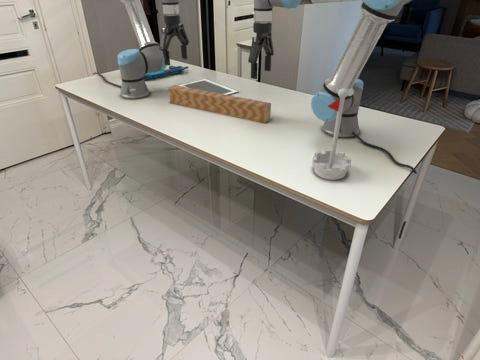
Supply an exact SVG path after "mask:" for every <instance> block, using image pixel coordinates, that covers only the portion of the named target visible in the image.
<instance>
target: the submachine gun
mask: <svg viewBox="0 0 480 360" xmlns="http://www.w3.org/2000/svg"><path fill="white" fill-rule="evenodd" d="M188 69H189V66H182V65H176V66H175V65H171V64H170V65H168V68H166V69H164V70H161V71H159V72H158V71H157V72H152V73H146V74H143V78H144V81H145V80H149V79H150V80H151V79H152V80H155V78H160V77H164V76H165V77H166V76H170V75H174V74H179V73H183V72H184V71H185V70H188Z"/></svg>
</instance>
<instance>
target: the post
mask: <svg viewBox="0 0 480 360" xmlns="http://www.w3.org/2000/svg"><path fill="white" fill-rule="evenodd" d="M168 96H169V103H170V104H173V105H179V106H184V107H189V108H193V109H197V110H202V111H207V112H212V113H217V114H221V115H225V116H231V117H235V118H240V119H243V120H244V119H245V120H249V121H254V122H257V123H263V124H266V123H268V122H269V121H270V120H271V116H272V115H271V114H272V102H268V101H262V100H257V99H252V98H246V97H241V96H236V95H231V94H229V95H225V94H219V93H214V92H209V91H203V90H198V89H193V88H187V87H182V86H178V85H176V84H174V85H172V86H169V87H168Z"/></svg>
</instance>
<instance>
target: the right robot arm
mask: <svg viewBox="0 0 480 360" xmlns="http://www.w3.org/2000/svg"><path fill="white" fill-rule="evenodd" d="M361 1H362V3H361V4H360V8H361V11H362V14H361V15H360V18H359V20H358V22H357V24H356V26H355V28H354V30H353V32H352V34H351V36H350V38H349V40H348V43H347V44H346V46H345V48H344V50H343V53H342V54H341V56H340V59H339V61H338V63H337V65H336V66H335V69H334V71H333V73H332V75H331V77H328V78H326V79H325V80H324V82H323V84H322V87H321V89H320V91H318V92H316V93H315V94H314V95H313V97H312V99H311V101H310V109H311V110H312V113H313V115H314V116H315V117H316V118H318V120H321V121H323V126H322V130H323V132H324V133H325V134H326V135H329V136H332V137H333V136H334V130H335V124H336V118H337V112H338V111H336V110H333V109H331V108H329V107H327V106H329V105H330V104H332V103H333V102H335V101H336V100H338V99H339V98H340V97H339V95H338V92H339V90H340V89H342V88H344V89H346V90H347V91H348V95H347V96H346V97H345V99H344V105H343V111H342V117H341V123H340V128H339V134H338V138H339V139H341V138H342V139H349V138H354V137H355V138H356V139H357V140H359V141H360V143H362V144H364V145H366V146H368V147H371V148H374V149H377V150H380V151H382V152H384V153H385V154H387V155H388V157H389V158H390V160H391V161H392V162H393V163H395V164H396V165H397V166H400V167H403V168H408V169H410V170H411V171H412V172H413V174H416V175H417V174H418V172H417V170H416V169H415V168H414V166H412V165H410V164H407V163H406V164H405V163H402V162H399V161H397V160H396V159H395V158H394V157H393V155H392V154H391V153H390V151H389V150H387V149H385V148H383V147H381V146H379V145H375V144H372V143H368V142H367V141H365V140H363V139H362V138H361V137H360V136H359V132H360V125H359V118H358V117H359V116H358V114H359V111H360V110H359V109H360V105H361V100H362V95H363V90H364V81H363V80H362V79H359V76H360V74H361V73H362V71H363V69H364V67H365V65H366V63H367V62H368V60H369V58H370V56H371V54H372V53H373V51H374V49H375V47H376V45H377V43H378V41H379V40H380V38H381V36H382V35H383V32H384V30H385V29H386V27H387V25H388V24H390V23H392V22H395V20H396V19H397V17H398V16H399V13H400V12H401V10H402V8H403V7H404V5H407V4H409V3H410V2H411V1H413V0H253V12H252V15H253V27H252V29H253V30H252V31H253V33H255V34H256V35H255V36H252V37H251V45H250V51H249V55H248V61H247V62H248V63H249V64H250V79H253V80H257V79H258V72H259V71H258V66H259V62H258V60H259V56H260V54H261V51H262V49H263V50H264V53H265V55H264V71H265V72H271V69H272V57H273V56H274V54H275V51H274V43H273V38H272V37H273V35H272V33H273V32H272V30H273V23H272V21H273V7H277V8H284V9H285V8H286V9H297V7H299V6H304V5H315V4H316V5H317V4H329V3H331V4H332V3H343V2H344V3H345V2H346V3H347V2H348V3H349V2H361ZM406 225H407V220H405V221H403V223H402V226H401V228H400V231H399V233H398V238H397V239H402V235H403V233H404V229H405V227H406Z"/></svg>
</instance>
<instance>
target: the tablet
mask: <svg viewBox="0 0 480 360" xmlns="http://www.w3.org/2000/svg"><path fill="white" fill-rule="evenodd" d="M177 86H182V87H187V88H193V89H198V90H203V91H209V92H214V93H219V94H225V95H233V94H237V93H239V91H238V90H236V89H233V88H230V87H228V86H226V85H223V84H220V83H217V82H215V81H213V80H209V79H207V78H202V79H199V80H195V81H191V82H186V83H182V84H178V85H177Z"/></svg>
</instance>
